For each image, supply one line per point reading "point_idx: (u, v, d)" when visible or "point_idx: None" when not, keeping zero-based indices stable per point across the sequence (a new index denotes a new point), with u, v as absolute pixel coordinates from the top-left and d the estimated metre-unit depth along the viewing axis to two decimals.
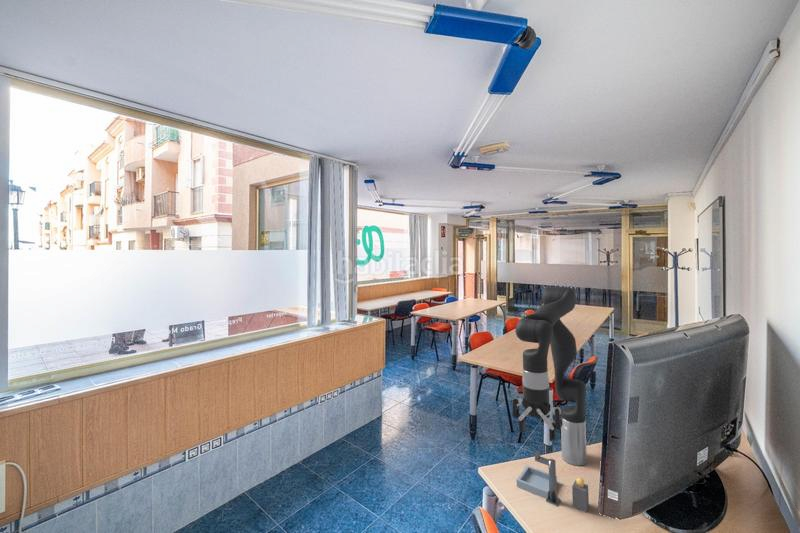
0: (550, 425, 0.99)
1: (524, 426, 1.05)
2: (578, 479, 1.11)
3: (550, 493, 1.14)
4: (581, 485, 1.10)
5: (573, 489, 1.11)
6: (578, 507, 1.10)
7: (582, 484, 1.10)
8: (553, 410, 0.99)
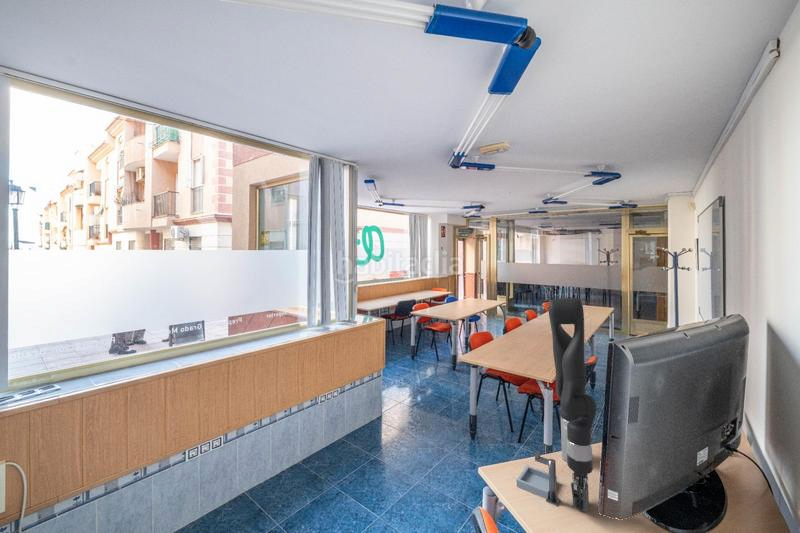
0: None
1: None
2: None
3: (550, 493, 1.14)
4: None
5: None
6: None
7: None
8: None
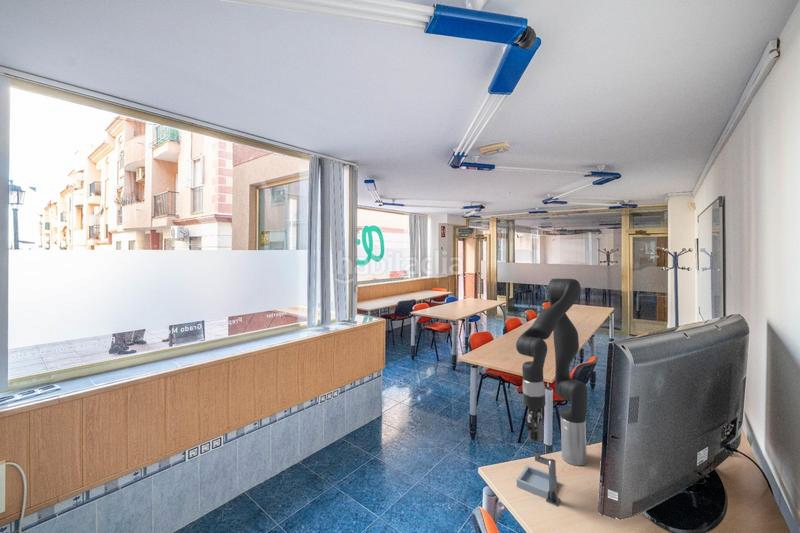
0: None
1: None
2: None
3: (550, 493, 1.14)
4: None
5: None
6: None
7: None
8: None
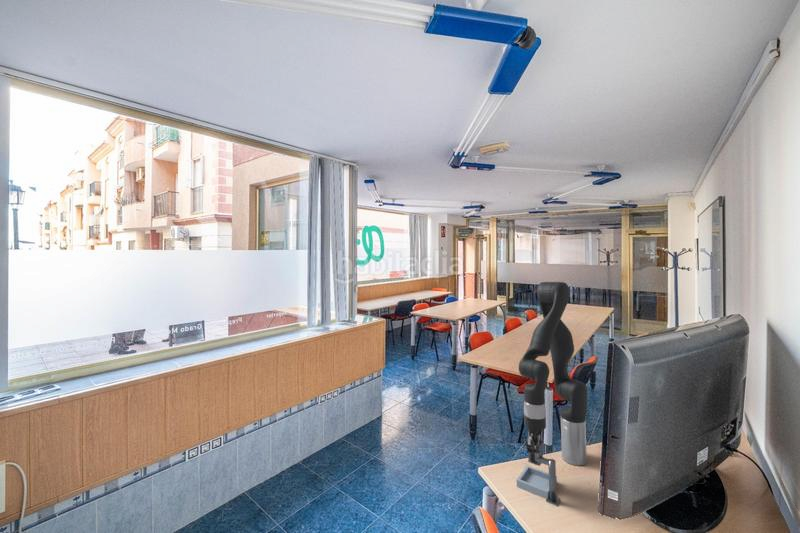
0: None
1: None
2: None
3: (550, 493, 1.14)
4: None
5: None
6: None
7: None
8: None
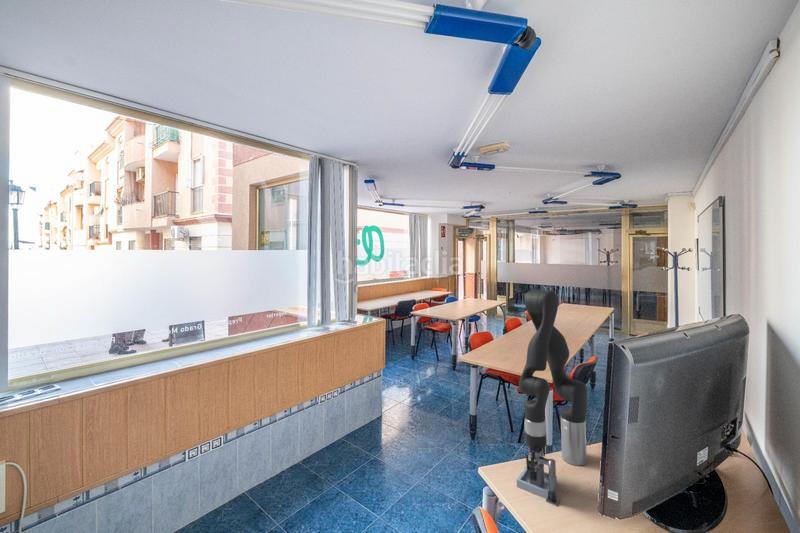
0: None
1: None
2: None
3: (550, 493, 1.14)
4: None
5: None
6: (534, 483, 1.21)
7: None
8: None
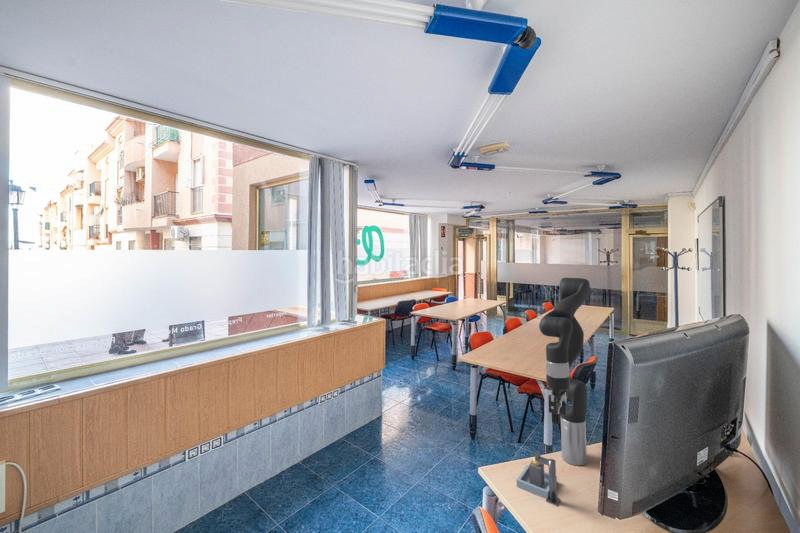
0: (565, 401, 1.19)
1: None
2: (534, 458, 1.23)
3: (550, 493, 1.14)
4: (537, 463, 1.21)
5: (530, 467, 1.22)
6: (534, 483, 1.21)
7: (538, 463, 1.22)
8: None
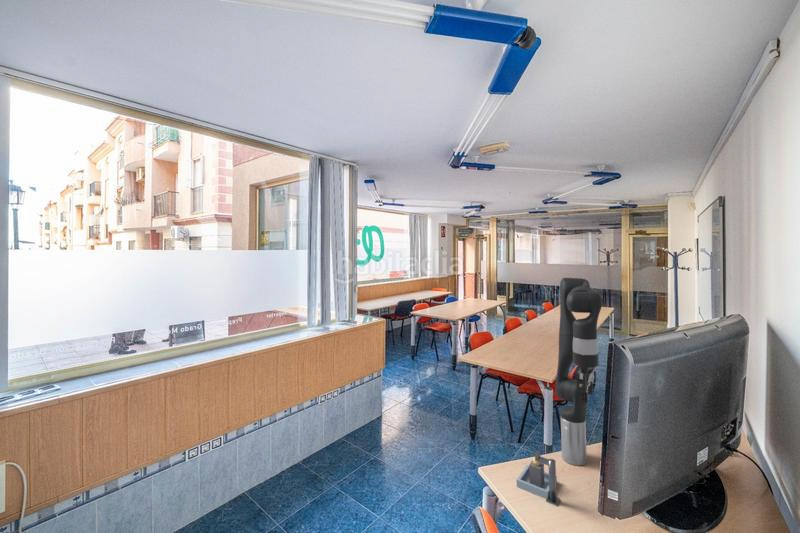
0: (592, 380, 1.14)
1: None
2: (534, 458, 1.23)
3: (550, 493, 1.14)
4: (537, 463, 1.21)
5: (530, 467, 1.22)
6: (534, 483, 1.21)
7: (538, 463, 1.22)
8: None
